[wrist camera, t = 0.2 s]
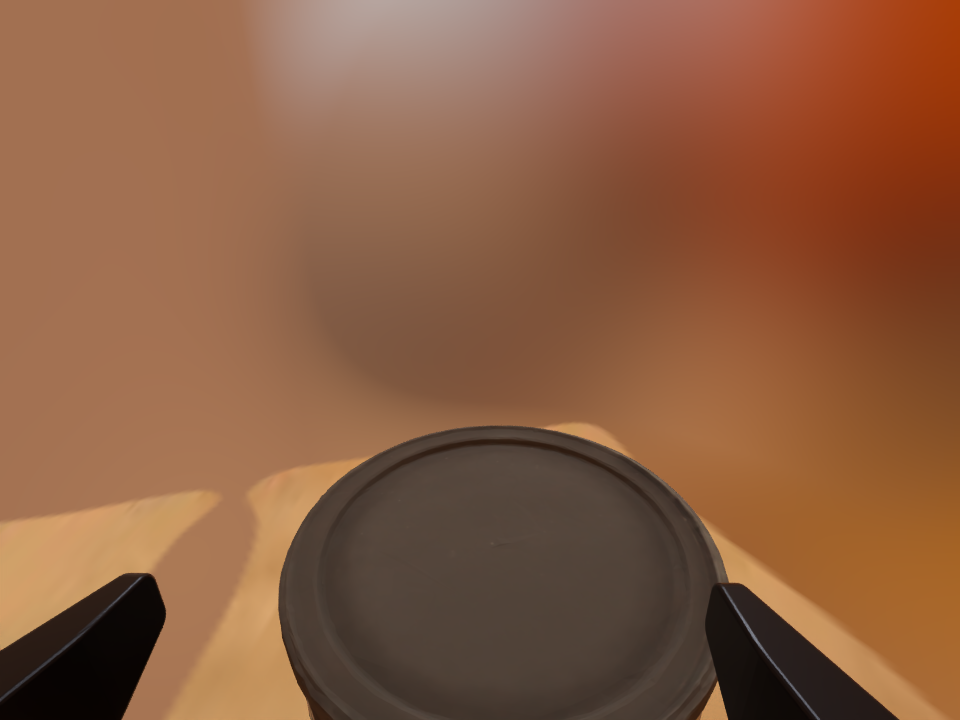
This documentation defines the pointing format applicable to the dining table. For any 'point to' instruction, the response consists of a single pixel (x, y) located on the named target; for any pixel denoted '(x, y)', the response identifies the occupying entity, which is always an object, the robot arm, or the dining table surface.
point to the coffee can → (500, 585)
